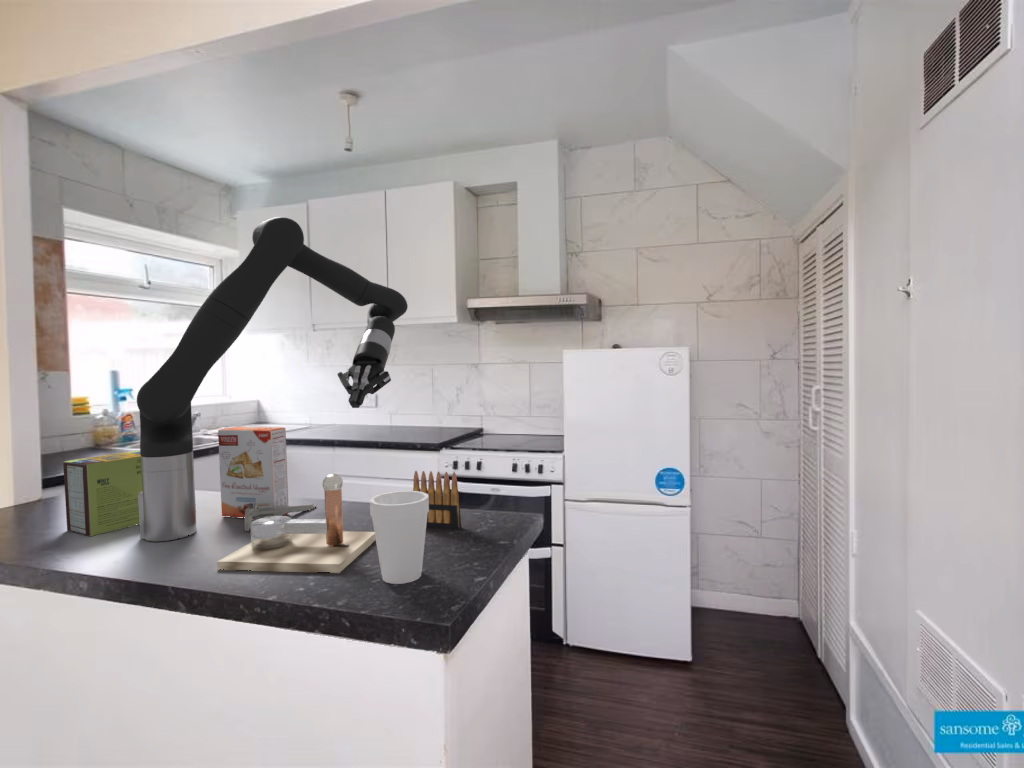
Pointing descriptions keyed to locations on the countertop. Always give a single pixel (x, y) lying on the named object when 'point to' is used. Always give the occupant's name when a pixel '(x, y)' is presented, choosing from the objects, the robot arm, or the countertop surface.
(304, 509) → the caliper
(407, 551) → the foam cup
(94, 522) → the protein box
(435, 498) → the ammunition clip
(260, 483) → the cracker box
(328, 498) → the lever
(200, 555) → the countertop surface
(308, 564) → the stand plate
